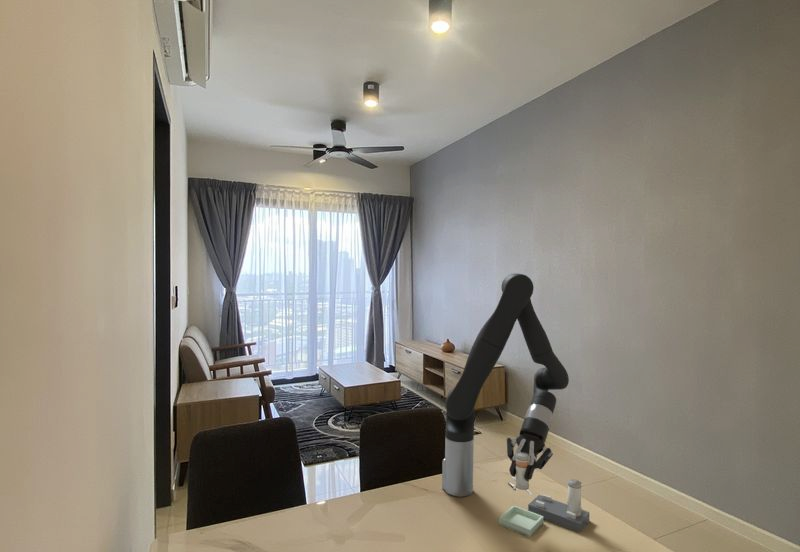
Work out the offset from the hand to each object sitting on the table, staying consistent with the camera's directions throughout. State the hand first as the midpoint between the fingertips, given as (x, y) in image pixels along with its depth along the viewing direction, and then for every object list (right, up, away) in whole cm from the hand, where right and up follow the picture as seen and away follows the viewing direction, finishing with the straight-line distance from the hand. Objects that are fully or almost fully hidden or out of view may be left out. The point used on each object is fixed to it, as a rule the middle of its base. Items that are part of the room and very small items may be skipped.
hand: (519, 477), depth 120 cm
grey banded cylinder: (+1, -3, +1) cm, 4 cm away
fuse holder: (+13, -14, +5) cm, 20 cm away
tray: (+1, -14, +1) cm, 14 cm away
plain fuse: (+16, -12, +3) cm, 20 cm away
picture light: (+6, -15, +24) cm, 29 cm away
